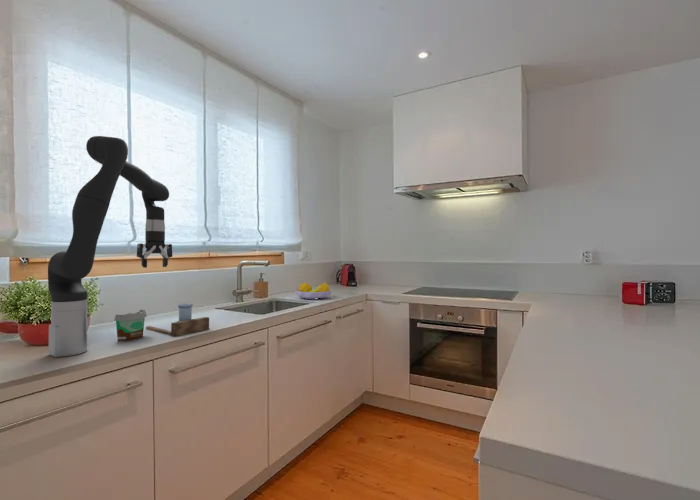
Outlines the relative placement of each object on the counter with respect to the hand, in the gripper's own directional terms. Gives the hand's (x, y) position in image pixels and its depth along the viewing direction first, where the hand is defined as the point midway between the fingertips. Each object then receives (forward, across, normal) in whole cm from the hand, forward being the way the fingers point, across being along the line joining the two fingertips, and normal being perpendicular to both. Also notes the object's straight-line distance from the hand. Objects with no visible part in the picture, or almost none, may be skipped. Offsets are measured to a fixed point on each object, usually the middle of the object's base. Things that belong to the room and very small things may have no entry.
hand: (155, 267), depth 153 cm
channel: (+26, +3, -13) cm, 29 cm away
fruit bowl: (+26, +112, +1) cm, 115 cm away
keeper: (+26, +3, -19) cm, 32 cm away
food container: (+26, -15, -15) cm, 34 cm away
